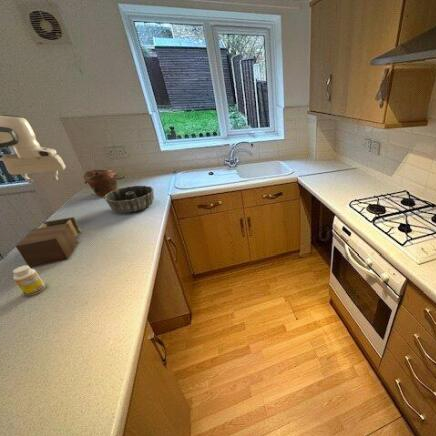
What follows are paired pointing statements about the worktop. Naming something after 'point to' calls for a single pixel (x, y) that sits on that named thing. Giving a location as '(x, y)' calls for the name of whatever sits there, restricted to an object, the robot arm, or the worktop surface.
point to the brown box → (47, 245)
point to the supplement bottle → (28, 280)
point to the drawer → (70, 221)
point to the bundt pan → (130, 198)
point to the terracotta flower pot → (101, 181)
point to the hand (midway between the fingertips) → (43, 181)
